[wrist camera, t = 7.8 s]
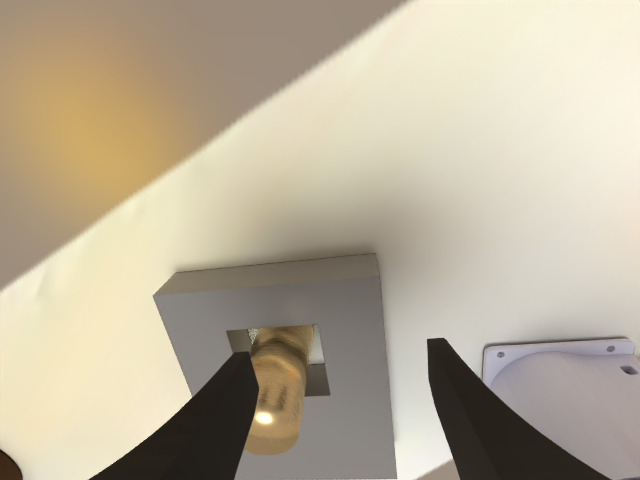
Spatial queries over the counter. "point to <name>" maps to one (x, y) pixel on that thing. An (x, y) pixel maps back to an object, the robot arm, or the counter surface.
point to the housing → (323, 379)
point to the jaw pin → (279, 387)
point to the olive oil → (8, 469)
